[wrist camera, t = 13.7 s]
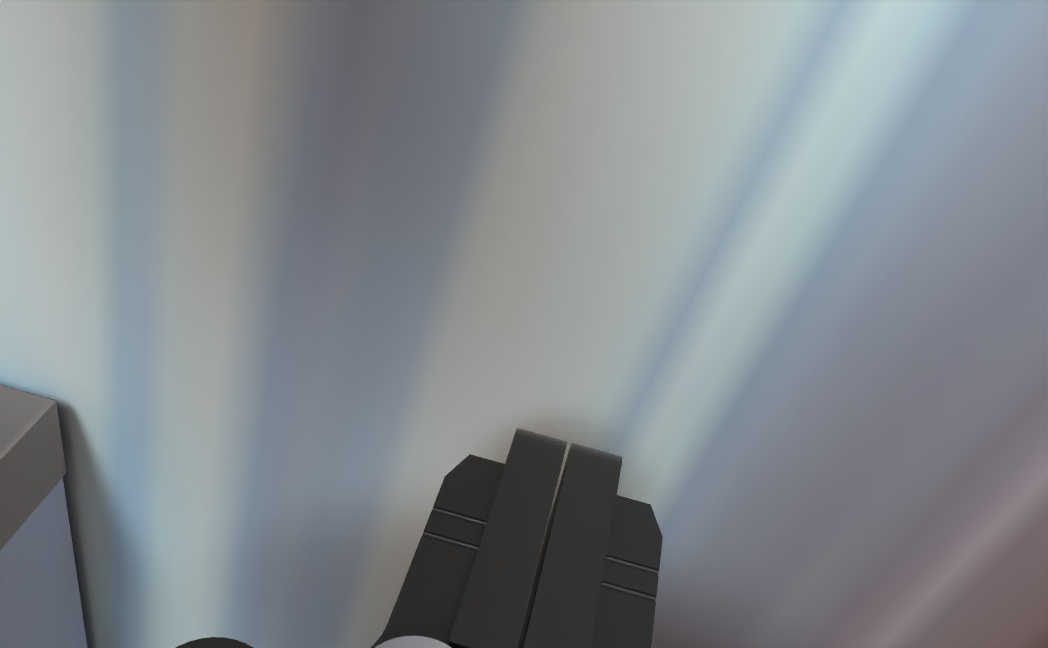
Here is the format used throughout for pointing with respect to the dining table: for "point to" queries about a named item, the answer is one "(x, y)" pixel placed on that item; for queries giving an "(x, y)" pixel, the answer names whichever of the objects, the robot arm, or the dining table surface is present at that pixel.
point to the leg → (35, 529)
